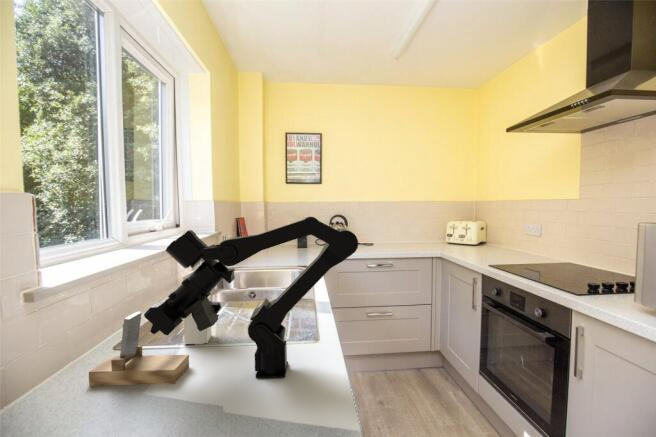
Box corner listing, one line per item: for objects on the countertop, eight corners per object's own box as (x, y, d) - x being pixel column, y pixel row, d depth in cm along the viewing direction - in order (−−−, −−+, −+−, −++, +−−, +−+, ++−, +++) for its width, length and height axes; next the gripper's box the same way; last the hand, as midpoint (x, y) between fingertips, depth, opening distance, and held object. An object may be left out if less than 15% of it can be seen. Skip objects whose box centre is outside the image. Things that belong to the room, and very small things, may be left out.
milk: (211, 335, 92) (210, 261, 91) (206, 344, 86) (205, 264, 85) (189, 336, 91) (188, 262, 90) (183, 345, 85) (182, 265, 84)
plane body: (189, 367, 73) (188, 344, 73) (174, 383, 66) (174, 358, 66) (111, 368, 72) (111, 346, 72) (89, 385, 65) (88, 360, 65)
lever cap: (136, 355, 71) (141, 312, 71) (123, 364, 67) (129, 319, 66) (128, 354, 71) (133, 311, 71) (115, 363, 67) (120, 318, 66)
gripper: (215, 323, 60) (159, 380, 60) (238, 294, 79) (195, 337, 79) (172, 284, 59) (115, 342, 59) (205, 264, 78) (162, 308, 78)
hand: (152, 332), depth 69 cm, fingers closed
